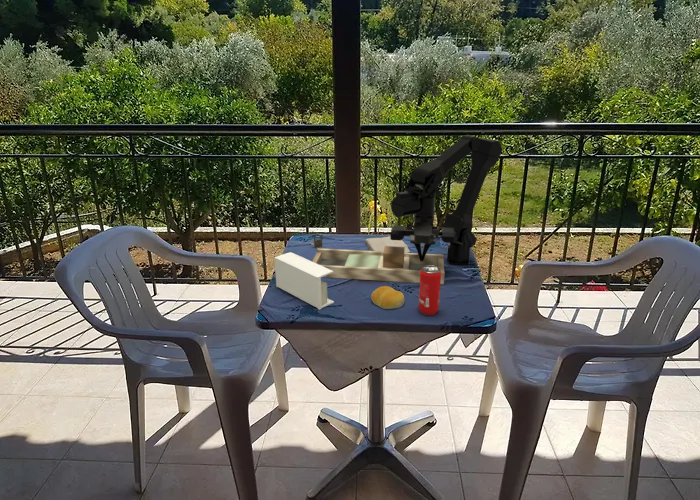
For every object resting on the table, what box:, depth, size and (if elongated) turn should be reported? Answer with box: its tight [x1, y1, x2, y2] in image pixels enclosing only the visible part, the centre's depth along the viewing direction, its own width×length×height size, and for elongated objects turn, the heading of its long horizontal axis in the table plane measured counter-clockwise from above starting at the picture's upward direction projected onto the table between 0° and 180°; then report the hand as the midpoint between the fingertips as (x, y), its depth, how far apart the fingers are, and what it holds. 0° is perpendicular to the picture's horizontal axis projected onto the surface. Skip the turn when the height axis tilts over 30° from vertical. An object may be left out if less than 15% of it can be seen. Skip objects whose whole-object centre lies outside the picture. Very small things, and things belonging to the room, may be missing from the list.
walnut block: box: [383, 246, 405, 268], centre depth 154 cm, size 6×6×4 cm
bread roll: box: [370, 285, 406, 310], centre depth 136 cm, size 8×9×4 cm
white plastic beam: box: [274, 251, 335, 310], centre depth 140 cm, size 20×6×9 cm, turn 43°
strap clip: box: [309, 235, 326, 250], centre depth 174 cm, size 8×3×4 cm, turn 27°
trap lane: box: [311, 248, 446, 285], centre depth 155 cm, size 40×14×4 cm, turn 81°
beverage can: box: [418, 265, 442, 316], centre depth 130 cm, size 5×5×12 cm
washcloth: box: [364, 235, 411, 253], centre depth 171 cm, size 12×18×3 cm, turn 13°
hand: (421, 260), depth 153 cm, fingers closed
